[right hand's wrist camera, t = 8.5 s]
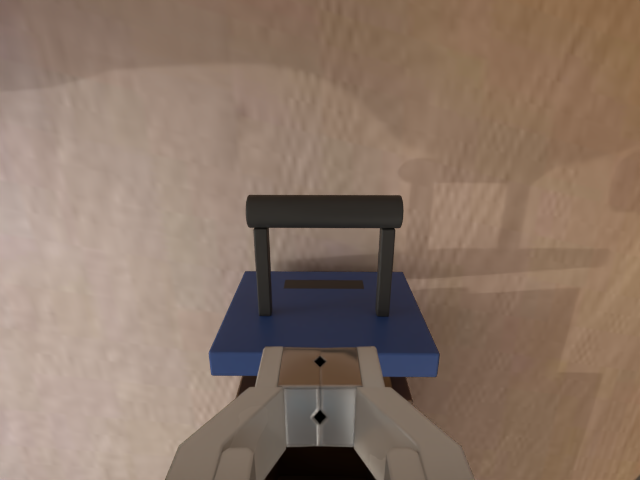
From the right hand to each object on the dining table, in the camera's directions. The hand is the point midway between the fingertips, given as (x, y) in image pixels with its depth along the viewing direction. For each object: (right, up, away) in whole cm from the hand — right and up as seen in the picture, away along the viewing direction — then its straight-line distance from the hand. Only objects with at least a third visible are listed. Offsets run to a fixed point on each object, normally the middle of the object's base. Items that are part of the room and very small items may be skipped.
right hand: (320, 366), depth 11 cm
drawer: (0, -3, +15) cm, 15 cm away
